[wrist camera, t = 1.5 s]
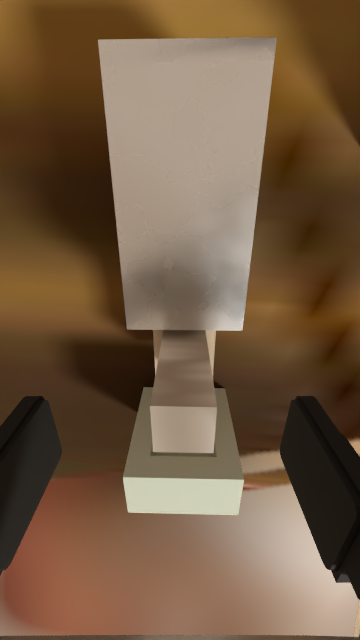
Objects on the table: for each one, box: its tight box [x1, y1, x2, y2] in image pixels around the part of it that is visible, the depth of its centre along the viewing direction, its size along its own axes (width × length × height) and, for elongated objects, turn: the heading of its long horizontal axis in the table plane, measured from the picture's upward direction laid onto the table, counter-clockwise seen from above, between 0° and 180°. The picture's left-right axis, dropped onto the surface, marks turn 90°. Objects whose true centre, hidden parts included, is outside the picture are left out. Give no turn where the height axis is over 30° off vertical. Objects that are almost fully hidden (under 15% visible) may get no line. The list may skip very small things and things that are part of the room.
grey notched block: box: [98, 37, 277, 331], centre depth 14 cm, size 8×11×8 cm
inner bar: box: [150, 330, 217, 453], centre depth 12 cm, size 4×17×10 cm, turn 0°
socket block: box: [123, 387, 244, 515], centre depth 22 cm, size 8×4×9 cm, turn 90°
